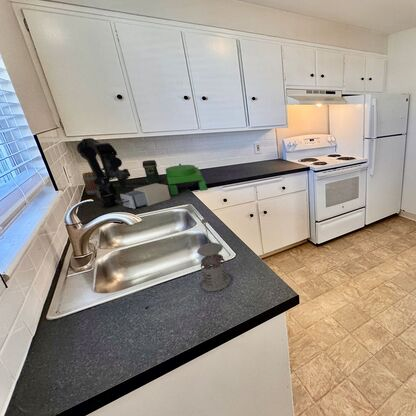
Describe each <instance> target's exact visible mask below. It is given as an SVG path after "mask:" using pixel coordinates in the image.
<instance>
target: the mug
mask: <svg viewBox="0 0 416 416" xmlns="http://www.w3.org/2000/svg"><path fill="white" fill-rule="evenodd" d="M103 173H104V175H106V174H105V171H103ZM106 178H107V177H106ZM95 179H96V178H95V176H94V174H93V172H92V171H88V172H83V173H82V180H83V183H84V187H85V192H86V194H87V195H89V196H97V184H95V183H94V180H95Z"/></svg>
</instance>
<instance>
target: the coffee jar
mask: <svg viewBox="0 0 416 416" xmlns="http://www.w3.org/2000/svg"><path fill="white" fill-rule="evenodd" d="M141 164H142V168H143V169H144V172H145V173H144V174H145V178H146V182H147V185H151V184H155V183H157V184H160V183H161V182H162V179H161V176H160V174H159V172H158V168H157V167H158V164H157V161H156V160H155V159H150V160H149V159H148V160H143V161H142V163H141Z"/></svg>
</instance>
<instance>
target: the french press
mask: <svg viewBox="0 0 416 416" xmlns="http://www.w3.org/2000/svg"><path fill="white" fill-rule="evenodd" d="M208 222H209V220H208V219H207V218H202V219H201V223H202V224H204V227H205V231H206V237H207V243H205V244H203V245H202V246H200V247H199V248H198V249H197V251H196V252H197V254H198V255H199V256H202V257H203V258H202V259H201V260H200V269H201V274H202V278H203V279H202V280H203V282H202V283H201V288H202V289H203V290H204V291H207V292H216V291H220V290H223V289H224V288H226V287H227V286H228V285H230V283H231V281H232V279H231V276H229V275H228V272H227V265H226V261H225V258H224V256H223V255H222V254H219V253H221V251H222V250H223V248H224V246H223V245H222V244H221V243H218V242H210V238H209V233H208V228H207V223H208ZM211 266H212V267H211ZM226 280H227V281H226Z"/></svg>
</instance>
